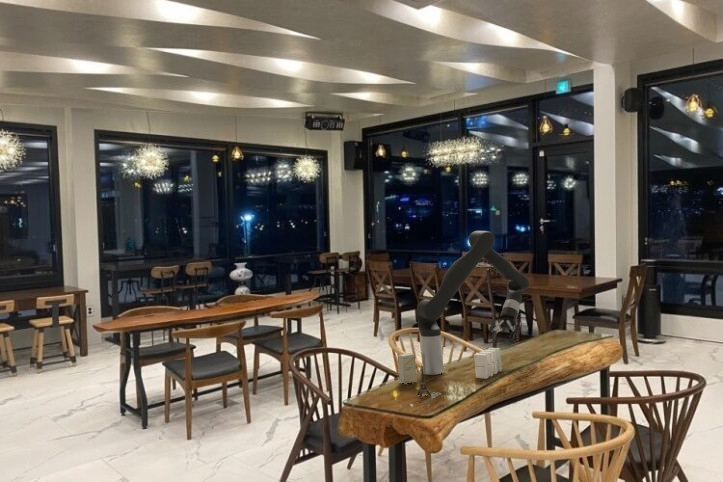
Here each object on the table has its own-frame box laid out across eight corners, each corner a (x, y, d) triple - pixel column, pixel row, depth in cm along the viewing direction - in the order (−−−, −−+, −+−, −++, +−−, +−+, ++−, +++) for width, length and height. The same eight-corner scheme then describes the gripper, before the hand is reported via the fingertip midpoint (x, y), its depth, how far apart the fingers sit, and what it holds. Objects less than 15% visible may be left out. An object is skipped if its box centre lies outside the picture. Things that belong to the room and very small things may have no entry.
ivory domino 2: (491, 376, 243) (489, 353, 243) (480, 375, 246) (478, 352, 246) (493, 375, 244) (491, 352, 244) (482, 374, 247) (480, 351, 247)
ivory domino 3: (495, 373, 246) (494, 351, 246) (485, 373, 249) (483, 350, 249) (497, 373, 248) (495, 350, 248) (487, 372, 251) (485, 349, 251)
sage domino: (500, 371, 250) (498, 349, 250) (489, 370, 253) (487, 348, 253) (501, 370, 251) (500, 348, 251) (491, 369, 254) (489, 347, 254)
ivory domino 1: (486, 378, 239) (484, 355, 239) (475, 377, 242) (474, 354, 242) (488, 377, 240) (486, 354, 241) (477, 376, 244) (476, 353, 244)
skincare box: (404, 385, 238) (402, 356, 238) (399, 383, 242) (397, 354, 242) (417, 382, 241) (415, 354, 241) (411, 380, 245) (409, 352, 245)
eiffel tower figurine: (426, 404, 211) (423, 368, 211) (403, 401, 217) (401, 366, 217) (445, 393, 222) (443, 360, 222) (423, 391, 229) (421, 358, 229)
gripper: (493, 306, 270) (484, 334, 261) (522, 306, 261) (513, 335, 252) (499, 315, 274) (490, 343, 265) (527, 316, 265) (519, 345, 256)
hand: (501, 339), depth 259 cm, fingers open, 8 cm apart
